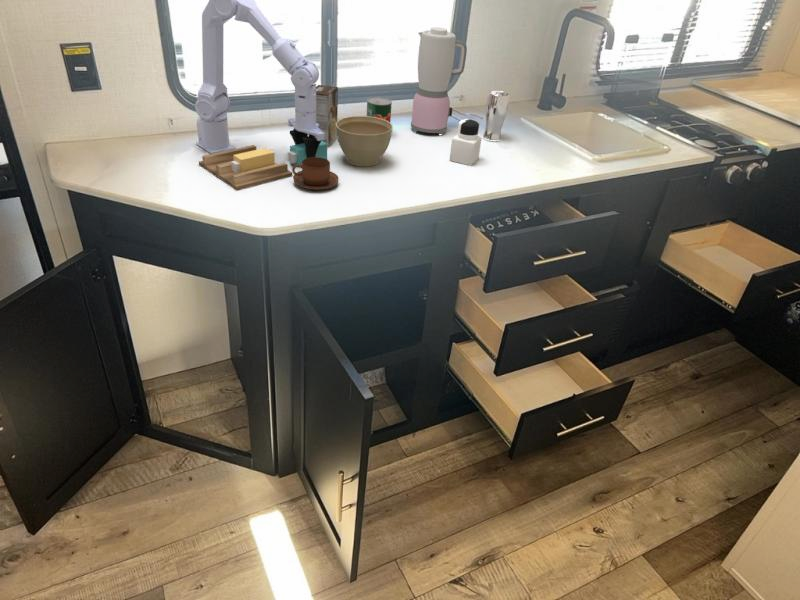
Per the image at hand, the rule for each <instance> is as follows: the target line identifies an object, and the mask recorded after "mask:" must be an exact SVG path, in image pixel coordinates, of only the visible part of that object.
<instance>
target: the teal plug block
mask: <svg viewBox="0 0 800 600" xmlns="http://www.w3.org/2000/svg"><path fill="white" fill-rule="evenodd" d="M289 149H290V151H288V152H287V154H288V157H287V158H288V161H289V162H290V164H292V165H293V166H295V165H302V161H303V160H304V159H306V158H307V155H306V147H305V144H304V143H301V144H297V145H295V144H293V145H290V146H289ZM315 157H318V158H324V159H326V160H328V147H327V143H325V142H323V141H321V143H320V144H319V146H318V149H317V152H316V156H315Z"/></svg>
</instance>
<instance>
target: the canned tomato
mask: <svg viewBox="0 0 800 600" xmlns="http://www.w3.org/2000/svg"><path fill="white" fill-rule="evenodd" d="M392 103H393V102H392V100H391V99H389V98H387V97H378V96H377V97H369V98H367V99H366V116H368V117H376V118H380V119H383V120H386V121H388V122H390V123H391V118H392V117H391V115H392V105H393V104H392Z"/></svg>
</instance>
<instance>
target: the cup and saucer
mask: <svg viewBox="0 0 800 600" xmlns="http://www.w3.org/2000/svg"><path fill="white" fill-rule="evenodd" d="M296 168H300V169H301V170H300V171H297V172H296ZM291 172H292V174H293V175H292V179H293V181H294V183H295V184H297V185H298V186H299V187H302V188H305V189H307V190H314V191H318V190H326V189H330V188H333V187H334V186H336V185H337V183H338V182H339V176H338V175H337V174H336V173H335V172H333V171H331V162H330V161H329V160H328V159H327V160H326V159H324V158H318V157H312V158H306V159H304V160H303V161H302V165H293V166H292V168H291Z"/></svg>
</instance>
